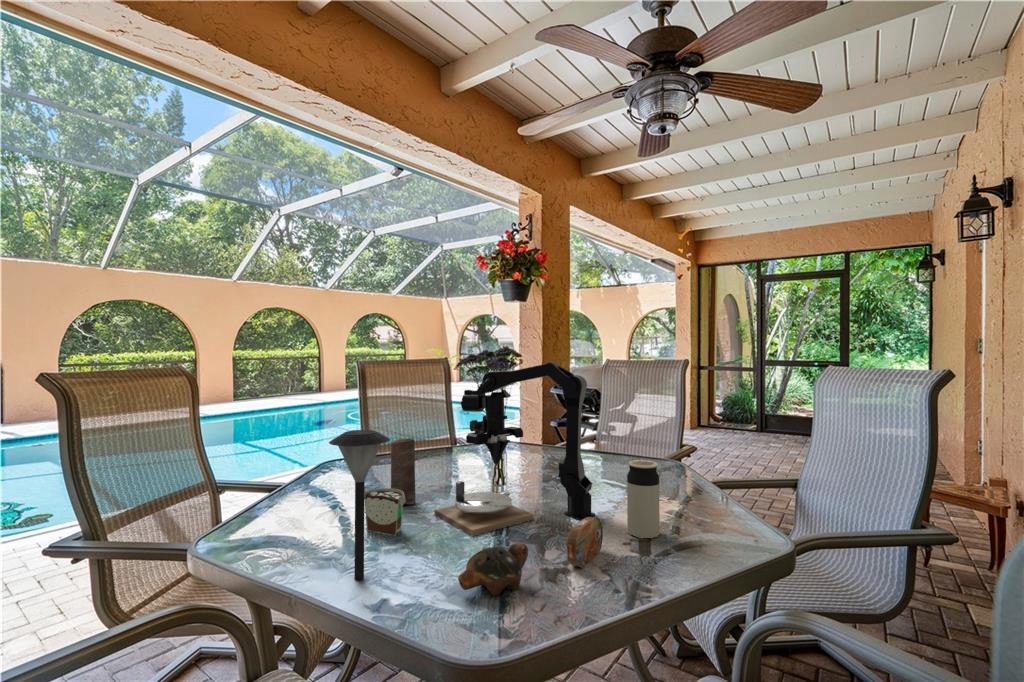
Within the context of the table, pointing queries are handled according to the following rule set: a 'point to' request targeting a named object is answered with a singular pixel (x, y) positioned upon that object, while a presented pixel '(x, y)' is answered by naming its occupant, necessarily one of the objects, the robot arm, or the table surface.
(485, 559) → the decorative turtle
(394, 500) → the food container
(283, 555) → the table surface
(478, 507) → the handwheel
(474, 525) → the base plate
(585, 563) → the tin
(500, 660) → the table surface
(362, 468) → the solar garden light
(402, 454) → the candle
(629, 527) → the travel mug
